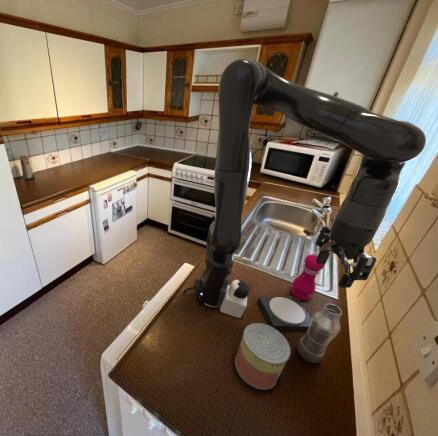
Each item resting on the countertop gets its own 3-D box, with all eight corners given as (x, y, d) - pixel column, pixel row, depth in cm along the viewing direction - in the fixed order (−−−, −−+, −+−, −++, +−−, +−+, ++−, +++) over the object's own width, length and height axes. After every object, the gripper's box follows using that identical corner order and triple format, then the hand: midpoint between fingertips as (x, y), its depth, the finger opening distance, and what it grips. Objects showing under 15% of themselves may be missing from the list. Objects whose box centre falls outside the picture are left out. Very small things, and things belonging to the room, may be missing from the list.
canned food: (274, 399, 61) (288, 373, 55) (230, 374, 66) (238, 347, 60) (279, 361, 69) (292, 335, 63) (240, 342, 74) (248, 316, 69)
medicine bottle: (240, 304, 88) (252, 281, 82) (240, 319, 83) (252, 296, 76) (221, 297, 90) (231, 274, 84) (219, 311, 84) (229, 288, 78)
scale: (271, 330, 78) (274, 324, 77) (257, 301, 89) (259, 295, 87) (314, 331, 78) (318, 325, 77) (295, 302, 89) (297, 296, 87)
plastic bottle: (316, 348, 73) (343, 302, 63) (322, 369, 67) (353, 323, 58) (293, 341, 75) (315, 296, 65) (297, 362, 69) (322, 315, 60)
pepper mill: (313, 303, 88) (335, 260, 79) (292, 300, 90) (311, 258, 80) (306, 289, 95) (325, 248, 85) (287, 286, 96) (303, 245, 86)
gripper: (320, 205, 59) (300, 257, 67) (366, 236, 46) (335, 296, 54) (350, 204, 59) (327, 257, 67) (405, 236, 46) (368, 296, 54)
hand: (331, 274), depth 60 cm, fingers open, 8 cm apart
